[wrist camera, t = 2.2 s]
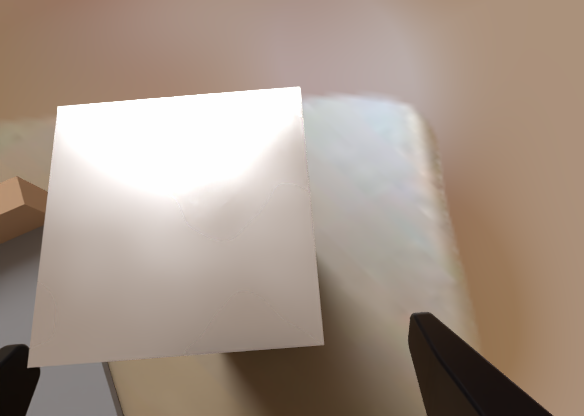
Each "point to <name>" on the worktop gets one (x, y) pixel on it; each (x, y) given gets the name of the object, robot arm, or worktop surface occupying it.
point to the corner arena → (20, 309)
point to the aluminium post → (177, 230)
